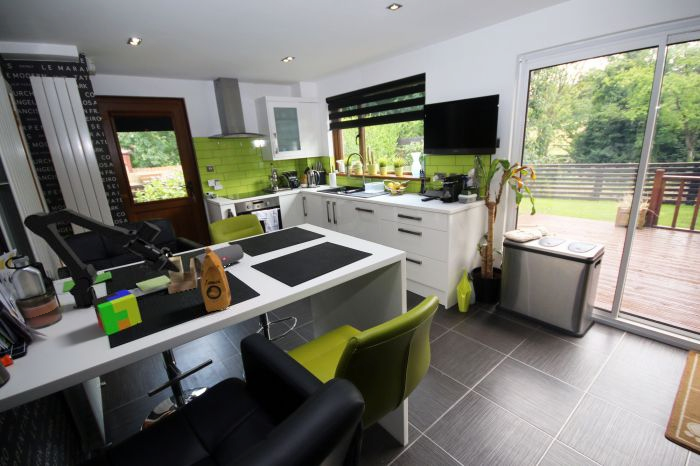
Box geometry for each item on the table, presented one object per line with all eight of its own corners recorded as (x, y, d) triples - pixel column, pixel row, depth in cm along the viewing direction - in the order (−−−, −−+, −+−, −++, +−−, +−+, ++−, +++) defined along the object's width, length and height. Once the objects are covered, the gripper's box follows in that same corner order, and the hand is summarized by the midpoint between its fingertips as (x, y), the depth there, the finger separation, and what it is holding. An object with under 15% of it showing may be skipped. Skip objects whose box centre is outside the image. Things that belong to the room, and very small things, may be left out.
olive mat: (143, 292, 136) (143, 290, 136) (136, 284, 144) (135, 283, 144) (173, 282, 144) (173, 281, 144) (164, 276, 152) (164, 275, 152)
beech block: (171, 285, 136) (166, 261, 133) (172, 281, 140) (167, 258, 138) (184, 283, 138) (179, 259, 135) (185, 279, 142) (180, 256, 140)
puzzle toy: (132, 313, 118) (125, 289, 115) (141, 322, 112) (135, 296, 109) (99, 325, 110) (91, 299, 108) (107, 335, 104) (100, 308, 102)
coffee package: (202, 315, 114) (191, 258, 108) (205, 300, 125) (195, 248, 119) (231, 309, 117) (222, 253, 111) (231, 295, 128) (223, 244, 122)
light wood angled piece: (169, 294, 133) (164, 271, 130) (171, 282, 144) (167, 262, 142) (197, 288, 137) (192, 266, 134) (197, 277, 148) (193, 257, 146)
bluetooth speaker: (204, 277, 148) (200, 257, 146) (194, 273, 154) (190, 254, 151) (245, 262, 166) (243, 244, 163) (235, 259, 171) (232, 241, 169)
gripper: (135, 258, 139) (169, 276, 146) (127, 272, 122) (165, 292, 129) (152, 238, 140) (185, 257, 147) (146, 249, 123) (183, 270, 130)
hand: (179, 269), depth 138 cm, fingers open, 6 cm apart
